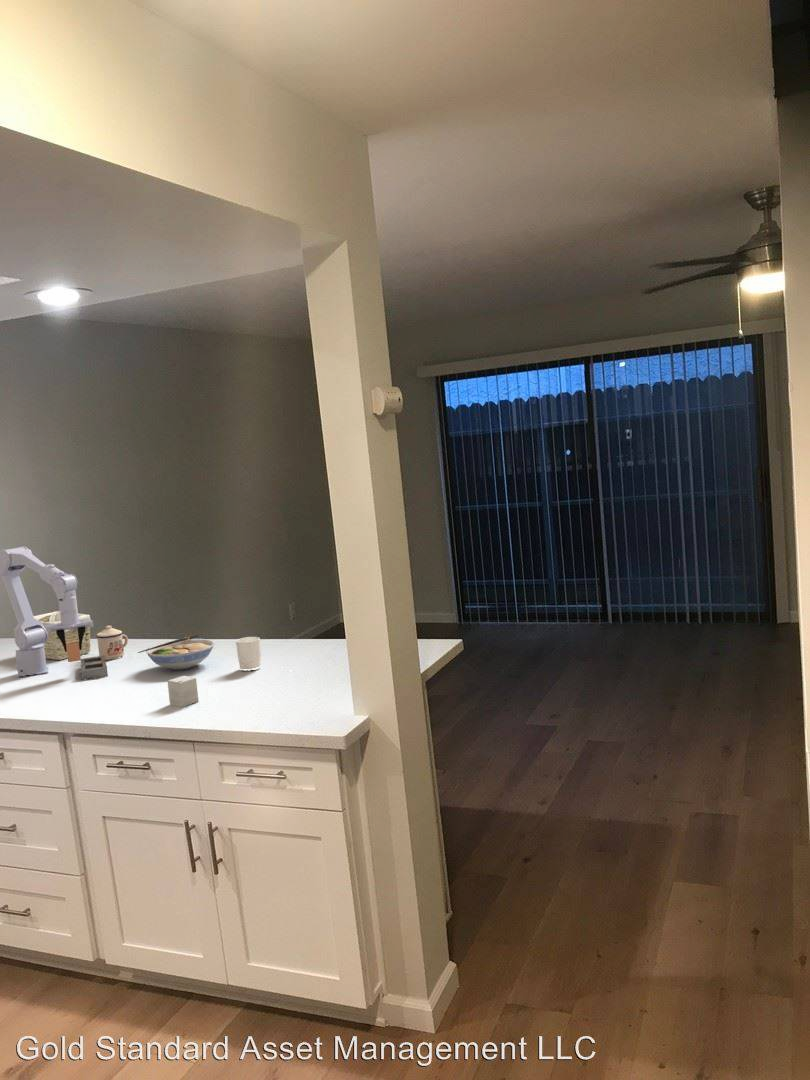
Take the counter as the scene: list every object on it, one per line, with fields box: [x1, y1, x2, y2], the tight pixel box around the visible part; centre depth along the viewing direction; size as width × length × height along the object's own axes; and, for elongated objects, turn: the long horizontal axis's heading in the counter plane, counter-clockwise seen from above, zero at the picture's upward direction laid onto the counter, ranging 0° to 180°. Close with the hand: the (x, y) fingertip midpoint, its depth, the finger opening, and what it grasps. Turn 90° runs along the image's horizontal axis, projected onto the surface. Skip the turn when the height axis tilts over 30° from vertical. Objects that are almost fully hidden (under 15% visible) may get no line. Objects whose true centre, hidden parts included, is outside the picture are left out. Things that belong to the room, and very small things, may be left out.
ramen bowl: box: [137, 634, 215, 671], centre depth 308 cm, size 25×23×8 cm
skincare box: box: [167, 675, 200, 708], centre depth 264 cm, size 6×6×7 cm
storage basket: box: [24, 610, 91, 661], centre depth 343 cm, size 24×16×15 cm
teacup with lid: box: [96, 625, 129, 661], centre depth 332 cm, size 12×9×12 cm
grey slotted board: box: [80, 655, 109, 681], centre depth 311 cm, size 20×8×3 cm, turn 21°
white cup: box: [235, 636, 262, 670], centre depth 298 cm, size 8×8×10 cm
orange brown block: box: [66, 641, 82, 663], centre depth 306 cm, size 4×4×6 cm
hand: (73, 650), depth 306 cm, fingers closed on orange brown block, 4 cm apart
